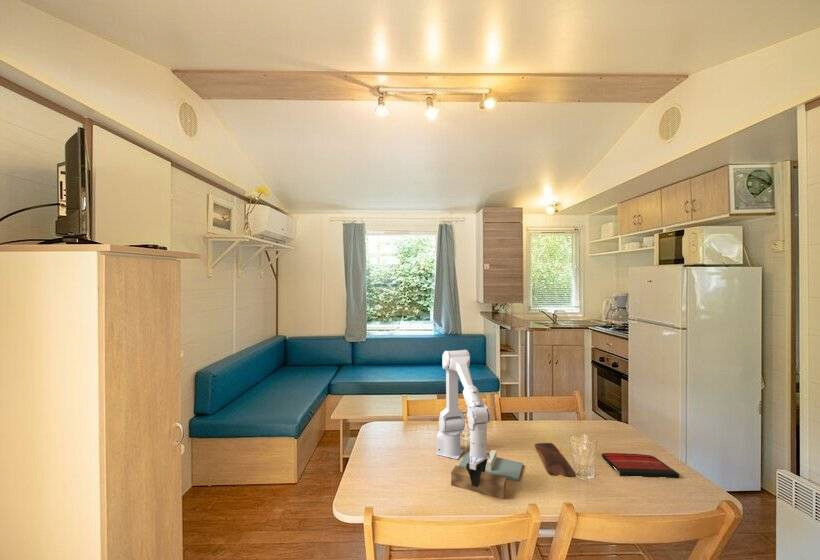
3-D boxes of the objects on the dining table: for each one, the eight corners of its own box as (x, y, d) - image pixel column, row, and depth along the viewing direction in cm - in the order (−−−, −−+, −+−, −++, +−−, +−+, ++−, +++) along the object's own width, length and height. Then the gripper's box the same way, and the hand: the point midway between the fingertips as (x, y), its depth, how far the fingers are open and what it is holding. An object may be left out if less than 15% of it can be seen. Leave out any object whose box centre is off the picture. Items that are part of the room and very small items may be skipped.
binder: (679, 473, 129) (619, 471, 130) (679, 479, 129) (619, 477, 130) (652, 453, 145) (599, 451, 146) (652, 459, 145) (599, 457, 146)
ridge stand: (459, 467, 136) (459, 457, 136) (467, 453, 147) (467, 443, 147) (518, 481, 127) (518, 470, 126) (522, 465, 137) (523, 455, 137)
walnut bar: (451, 486, 124) (451, 472, 124) (455, 478, 129) (455, 465, 129) (503, 500, 116) (503, 485, 116) (506, 491, 121) (506, 477, 121)
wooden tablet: (532, 440, 157) (555, 438, 156) (532, 445, 157) (556, 443, 156) (548, 473, 130) (576, 472, 129) (549, 479, 130) (577, 478, 129)
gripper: (484, 452, 114) (484, 494, 114) (494, 434, 127) (494, 472, 127) (463, 448, 117) (463, 489, 117) (475, 431, 130) (475, 468, 130)
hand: (478, 480), depth 123 cm, fingers open, 7 cm apart
